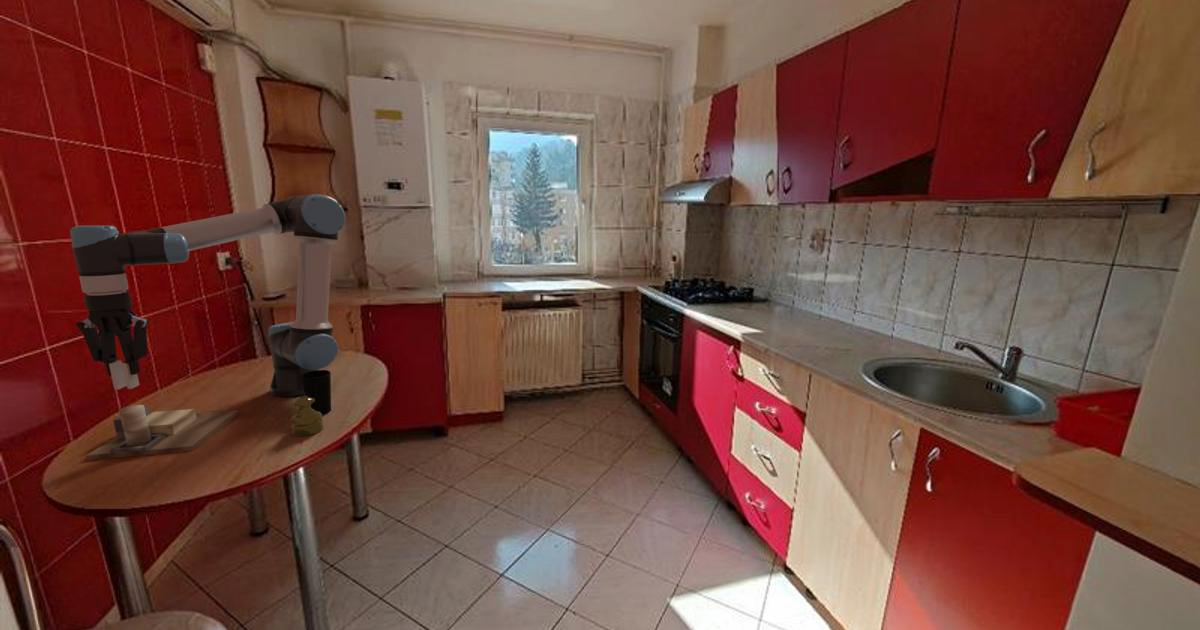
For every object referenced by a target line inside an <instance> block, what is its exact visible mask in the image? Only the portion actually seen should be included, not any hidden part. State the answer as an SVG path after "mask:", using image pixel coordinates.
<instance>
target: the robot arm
mask: <svg viewBox="0 0 1200 630" xmlns="http://www.w3.org/2000/svg"><path fill="white" fill-rule="evenodd" d="M345 222H346V213H345V210H344V208H343V207H342V205H341V204H340V202H338V201H337V200H336V199H335V198H333V197H331V196H330V195H329V196H328V195H326V194H325V195H324V194H317V193H312V194H300V195H299V194H298V195H294V196H291V197H286V198H284V199H281V200H276V201H272V202H268V203H264V204H263V205H262V207H261V208H260V207H259V208H256V209H250V210H249V209H248V210H245V211H244V210H243V211H240V212H239V211H238V212H234V213H230V214H229V213H228V214H223V215H218V216H214V217H207V218H203V219H198V220H192V221H187V222H182V223H178V224H177V223H176V224H171V225H168V226H167V225H166V226H161V227H157V228H150V229H147V230H146V229H145V230H136V231H135V230H134V231H131V232H127V233H120V232H119V231H118V228H117V227H116V226H114V225H75V226H73V227H72V228H70V230H69V233H70V239H71V248H72V251H73V256H74V259H75V264H76V268H77V272H78V277H79V282H80V288H81V292H82V293H84V294H85V295H84V296H83V300H84V304H85V308H86V310H87V311H88V312H89V313H88V316H87V318H85V319H84V320H81V321H78V322H76V323H75V327H77V328H78V330H79V331H80V332H81V333H82V336H83V338H84V341H85V343H86V345H87V348H88V350H89V352H90V354H91V357H92V360H93V361H94V362H96V363H97V362H101V363H104V364H105V370H106V373H107V375H108V376H109V377H111V380H112V384H113V388H114V390H115V391H116V390H118V391H119V390H121V389H123V388H125V387H127V390H132V389H134V388H136V387H138V386H140V380H139V376H138V374H139V373H141V368H140V364H139V360H140V359H143V358H145V357H147V356H148V341H147V339H148V337H147V336H148V334H147V327H148V325H149V323H150V319H149V318H142V317H139V316H136V313H135V312H134V311H133V310H132V308H133V300H132V295H131V293H130V292H129V291H127V290H129V289H130V287H129V282H128V278H127V274H126V272H127V271H126V266H128V267H129V266H130V267H131V266H140V265H142V266H144V265H163V264H164V265H165V264H170V265H172V264H177V263H179V264H180V263H185V262H187V261H188V260H189V257H190V252H191V251H195V250H199V249H204V248H209V247H213V246H217V245H221V244H227V243H230V242H234V241H239V240H243V239H248V238H252V237H257V236H262V235H265V234H269V233H274V234H276V235H280V234H286V233H293V237H294V238H295V240H296V241H298V244H299V248H298V266H297V267H298V272H297V290H296V291H297V293H296V310H295V312H296V314H295V319H294V321H290V322H289V321H288V322H284V323H278V324H273V325H271V326H269V328H268V336H267V338H268V340H269V346H270V347H269V348H270V351H271V352H270V353H271V358H272V364H273V365H272V366H273V372H272V373H273V374H272V378H271V381H270V386H269V389H270V395H272V396H274V397H279V398H281V397H282V398H288V397H297V396H304V395H305V393H304V389H303V385H302V381H301V375H302V374H304V373H307V372H311V371H316V370H323V369H325V368H327V367H328V366H330V365H331V364H332V363H333V362H334V361H335V360H336V358H337V356H338V354H339V345H338V342H337V340H336V339H335V338H334V337H333V332H334V326H333V325H332V323H331V322H329V305H330V289H331V287H330V285H331V267H332V266H331V265H332V249H333V248H332V247H333V245H336V243H337V242H338V239H339V231H342V229H343V228H344V226H345ZM131 326H132V327H133V330H132V327H131ZM132 332H133V336H132ZM116 337H117V339H118V342H119V345H120V349H121V350H122V354H123V357H124V361H123V362H122V360H120V357H117V356H118V355H117V345H116Z"/></svg>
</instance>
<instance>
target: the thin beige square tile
mask: <svg viewBox="0 0 1200 630" xmlns="http://www.w3.org/2000/svg"><path fill="white" fill-rule="evenodd" d="M196 412H197V411H196V409H195V408H191V409H190V408H188V409H176V410H174V409H173V410H163V411H152V412H150V414H149V415H147V416H146V417H147V422H148V426H149V431H150V435H154V434H167V435H175V434H176V433H177V432H179V431H180V430H182V429H183V428H184V427H186V426H187V425H189V424H190V423H192V422H193V421H194V420H196V419H197V417H196V414H197V413H196Z"/></svg>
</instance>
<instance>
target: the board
mask: <svg viewBox="0 0 1200 630" xmlns="http://www.w3.org/2000/svg"><path fill="white" fill-rule="evenodd" d="M144 408H145V412H146V416H147V415H149V414H151V412H150V411H151V410H150V406H144ZM238 415H239V410H227V411H226V410H225V411H215V412H213V411H212V412H202V413H201V412H200V413H196V417H197V419H196V420H194V421H193V422H192V423H190V424H189V425H187V426H186V427H184V428H183V429H182V430H180V431H179V432H177V433H176V434H175V435H167V434H154V435H151V440H152V441H151V442H149V443H148V444H146V445H145V446H135V447H127V443H126V439H125V434H124V430H123V426H122V421H121V417H120V416H118V417H116V418H115V419H112V421H113V425H114V429H115V435H116V436H115V437H114V438H112V439H111V440H109V441H108V442H106V443H104V444H103V445H101V446H98V448H96V449H94V450H93V451H91V452H88V453H87V454H86V455H85V456H86V460H87V461H88V460H89V461H90V460H91V461H92V460H100V459H101V460H102V459H113V458H122V457H123V458H124V457H136V456H146V455H147V456H148V455H157V454H158V455H159V454H167V453H168V454H170V453H179V452H180V453H182V452H190V451H191V452H192V451H195V450H196V449H197V448H198V447H200V446H201V445H202V444H204V443H205V442H206V441H207V440H208V439H210V438H211V437H213V435H215V434H216V433H217V432H219V430H221V429H222V428H223V427H224V426H226V425H228V423H229V422H232V420H233V419H235V418H236V417H237V416H238Z"/></svg>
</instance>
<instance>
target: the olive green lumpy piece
mask: <svg viewBox="0 0 1200 630" xmlns="http://www.w3.org/2000/svg"><path fill="white" fill-rule="evenodd" d="M314 401H315V399H314V398H313V397H309V396H305V395H300V397H298V398H295V400H294V401H293V402H292V404H293V405H294V406H295V407H297V408H298V410H297V411H296V412H295V414H293V415H292V416H291V417H290V420H289V422H290V424H291V426H290V428H291V433H292V435H293V436H295V437H308V436H312V435H315V434H317V433H320V431H322V430H323V428H324V423H323V422H324V421H323V419H322V417H323V415H322V413H321V412H320V411H317V410H315V409H313V408H311V404H312V403H313V402H314Z"/></svg>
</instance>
